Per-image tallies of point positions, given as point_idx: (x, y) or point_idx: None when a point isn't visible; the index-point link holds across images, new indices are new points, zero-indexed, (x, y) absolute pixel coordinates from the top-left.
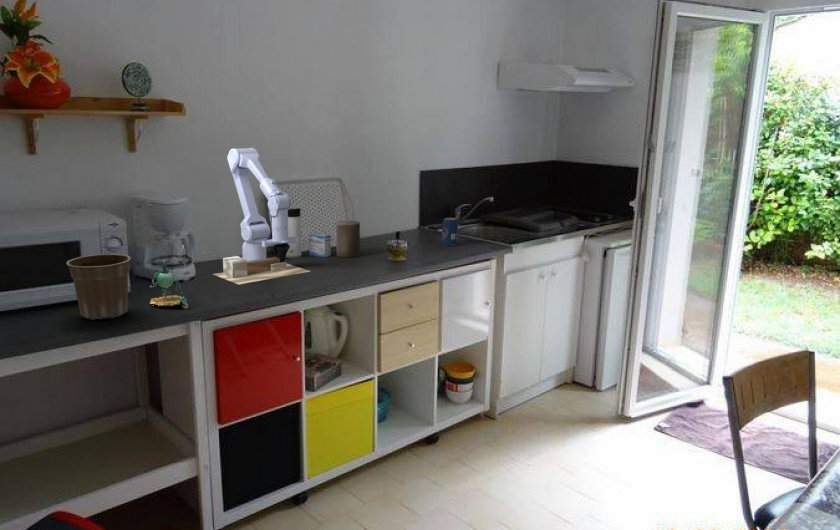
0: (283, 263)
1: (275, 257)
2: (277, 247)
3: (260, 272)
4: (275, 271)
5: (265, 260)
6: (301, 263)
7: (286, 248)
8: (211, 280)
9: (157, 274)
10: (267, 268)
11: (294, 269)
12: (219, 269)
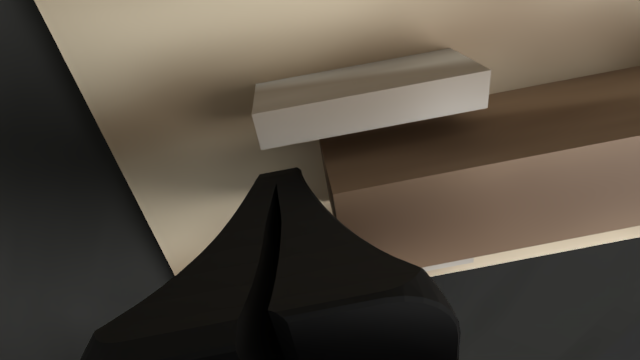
0: (299, 103)
1: None
2: (455, 327)
3: (564, 75)
4: (416, 36)
5: (573, 155)
6: (31, 303)
7: (196, 307)
8: None
9: None
10: (489, 106)
11: (163, 16)
12: (612, 330)
